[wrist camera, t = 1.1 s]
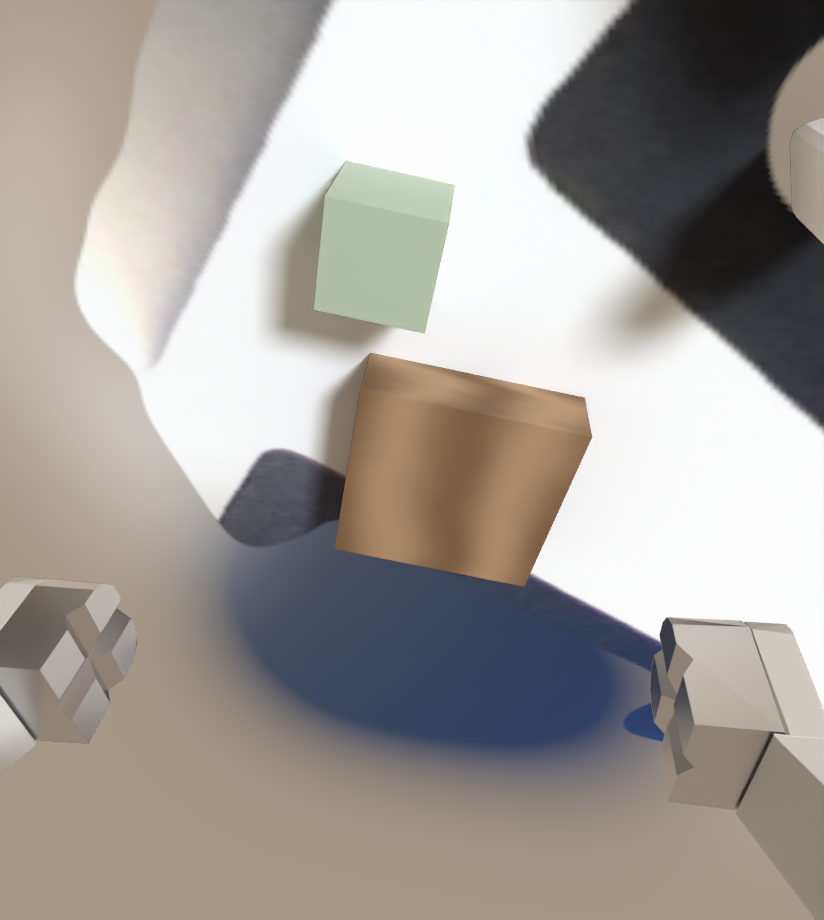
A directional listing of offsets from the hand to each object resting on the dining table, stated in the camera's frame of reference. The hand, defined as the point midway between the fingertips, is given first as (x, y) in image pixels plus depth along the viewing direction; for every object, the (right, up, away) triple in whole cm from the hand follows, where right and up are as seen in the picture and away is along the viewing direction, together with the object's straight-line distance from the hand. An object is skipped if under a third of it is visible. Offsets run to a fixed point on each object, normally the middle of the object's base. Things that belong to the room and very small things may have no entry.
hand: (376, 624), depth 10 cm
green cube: (0, +14, +22) cm, 26 cm away
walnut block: (+3, +3, +30) cm, 31 cm away
